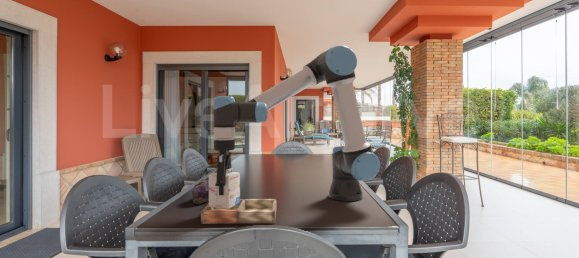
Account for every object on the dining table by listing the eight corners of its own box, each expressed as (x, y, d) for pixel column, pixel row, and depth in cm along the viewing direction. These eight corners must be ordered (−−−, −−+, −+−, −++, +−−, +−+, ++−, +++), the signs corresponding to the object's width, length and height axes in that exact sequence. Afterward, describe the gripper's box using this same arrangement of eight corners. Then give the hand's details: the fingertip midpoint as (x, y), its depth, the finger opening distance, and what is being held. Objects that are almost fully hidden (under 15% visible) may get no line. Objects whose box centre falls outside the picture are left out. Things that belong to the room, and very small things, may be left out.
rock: (188, 207, 134) (213, 206, 135) (187, 188, 132) (212, 187, 133) (193, 196, 145) (216, 195, 146) (192, 178, 144) (215, 177, 145)
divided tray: (276, 209, 127) (276, 198, 127) (274, 223, 110) (274, 210, 110) (212, 209, 127) (212, 198, 127) (200, 223, 110) (200, 211, 109)
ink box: (220, 201, 124) (220, 166, 123) (240, 203, 121) (240, 167, 121) (208, 207, 116) (207, 169, 115) (229, 209, 113) (228, 170, 112)
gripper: (220, 137, 129) (220, 192, 129) (206, 141, 106) (207, 208, 107) (239, 137, 129) (239, 192, 129) (229, 141, 106) (229, 208, 107)
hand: (224, 200), depth 118 cm, fingers closed on ink box, 10 cm apart
